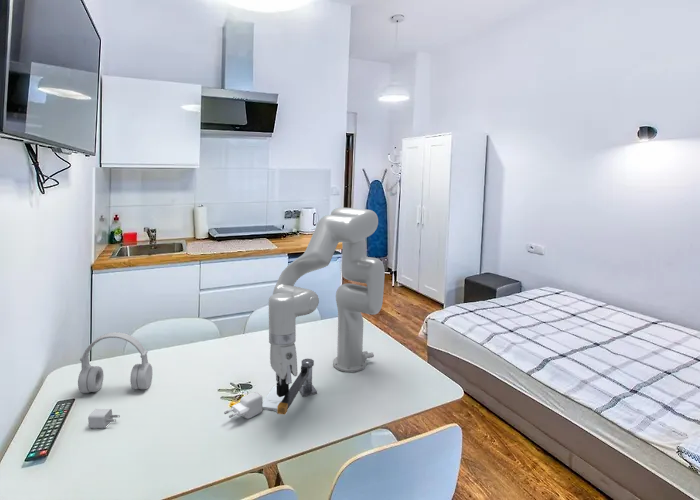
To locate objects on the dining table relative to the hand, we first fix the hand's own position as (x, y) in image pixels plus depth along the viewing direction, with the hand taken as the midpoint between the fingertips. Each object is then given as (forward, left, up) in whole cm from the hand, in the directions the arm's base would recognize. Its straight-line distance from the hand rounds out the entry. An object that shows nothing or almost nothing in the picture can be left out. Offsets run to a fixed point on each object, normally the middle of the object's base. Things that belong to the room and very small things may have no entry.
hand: (282, 394), depth 120 cm
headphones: (+46, -35, -7) cm, 58 cm away
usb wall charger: (+47, -15, -7) cm, 50 cm away
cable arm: (-5, -1, 0) cm, 5 cm away
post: (-11, -10, -7) cm, 17 cm away
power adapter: (+11, -4, -7) cm, 14 cm away
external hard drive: (-1, -9, -8) cm, 12 cm away
